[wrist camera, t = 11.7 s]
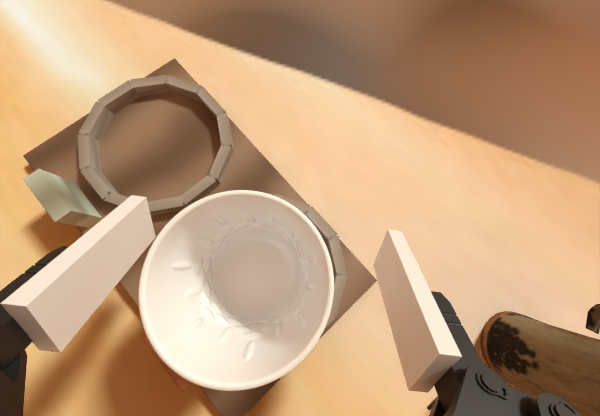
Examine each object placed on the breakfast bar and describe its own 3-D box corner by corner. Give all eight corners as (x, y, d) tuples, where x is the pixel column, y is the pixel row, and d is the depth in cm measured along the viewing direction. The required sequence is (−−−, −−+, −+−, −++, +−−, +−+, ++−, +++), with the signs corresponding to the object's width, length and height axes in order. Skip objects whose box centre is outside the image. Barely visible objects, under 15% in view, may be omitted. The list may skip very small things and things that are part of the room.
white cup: (209, 327, 19) (129, 401, 9) (211, 224, 20) (144, 192, 11) (312, 320, 19) (341, 382, 10) (307, 220, 21) (327, 186, 11)
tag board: (34, 160, 22) (-21, 138, 18) (178, 66, 24) (158, 29, 20) (234, 419, 19) (221, 461, 15) (372, 279, 21) (392, 283, 17)
